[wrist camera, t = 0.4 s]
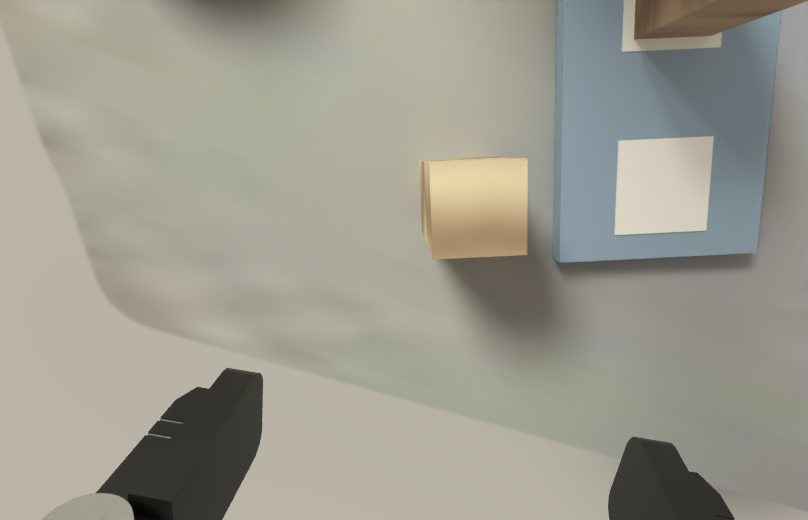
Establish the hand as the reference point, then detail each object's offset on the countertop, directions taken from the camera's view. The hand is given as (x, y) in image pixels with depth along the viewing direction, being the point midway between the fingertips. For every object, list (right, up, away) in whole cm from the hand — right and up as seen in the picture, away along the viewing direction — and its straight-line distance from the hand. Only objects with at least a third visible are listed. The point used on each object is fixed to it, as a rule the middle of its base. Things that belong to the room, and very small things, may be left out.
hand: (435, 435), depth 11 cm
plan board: (+17, +15, +24) cm, 33 cm away
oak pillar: (+3, +9, +25) cm, 27 cm away
